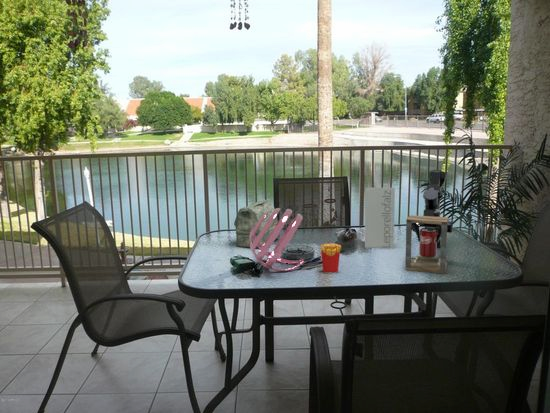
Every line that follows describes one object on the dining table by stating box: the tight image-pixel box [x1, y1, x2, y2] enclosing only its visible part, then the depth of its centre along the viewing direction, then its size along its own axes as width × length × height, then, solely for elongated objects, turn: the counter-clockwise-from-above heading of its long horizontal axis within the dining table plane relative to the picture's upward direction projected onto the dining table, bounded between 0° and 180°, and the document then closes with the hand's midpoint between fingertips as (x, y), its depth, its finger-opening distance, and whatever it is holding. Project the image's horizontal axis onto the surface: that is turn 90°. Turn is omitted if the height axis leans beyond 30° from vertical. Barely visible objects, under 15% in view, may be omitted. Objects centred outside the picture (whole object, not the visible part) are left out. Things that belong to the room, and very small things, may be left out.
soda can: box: [418, 227, 438, 258], centre depth 199 cm, size 7×7×12 cm
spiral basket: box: [249, 207, 305, 272], centre depth 201 cm, size 28×28×27 cm
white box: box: [364, 187, 396, 249], centre depth 229 cm, size 14×6×30 cm, turn 76°
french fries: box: [320, 243, 342, 274], centre depth 195 cm, size 8×4×12 cm, turn 85°
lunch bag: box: [233, 199, 280, 249], centre depth 245 cm, size 26×18×22 cm
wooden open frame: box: [404, 214, 449, 275], centre depth 196 cm, size 16×16×22 cm
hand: (427, 241), depth 198 cm, fingers closed on soda can, 7 cm apart
